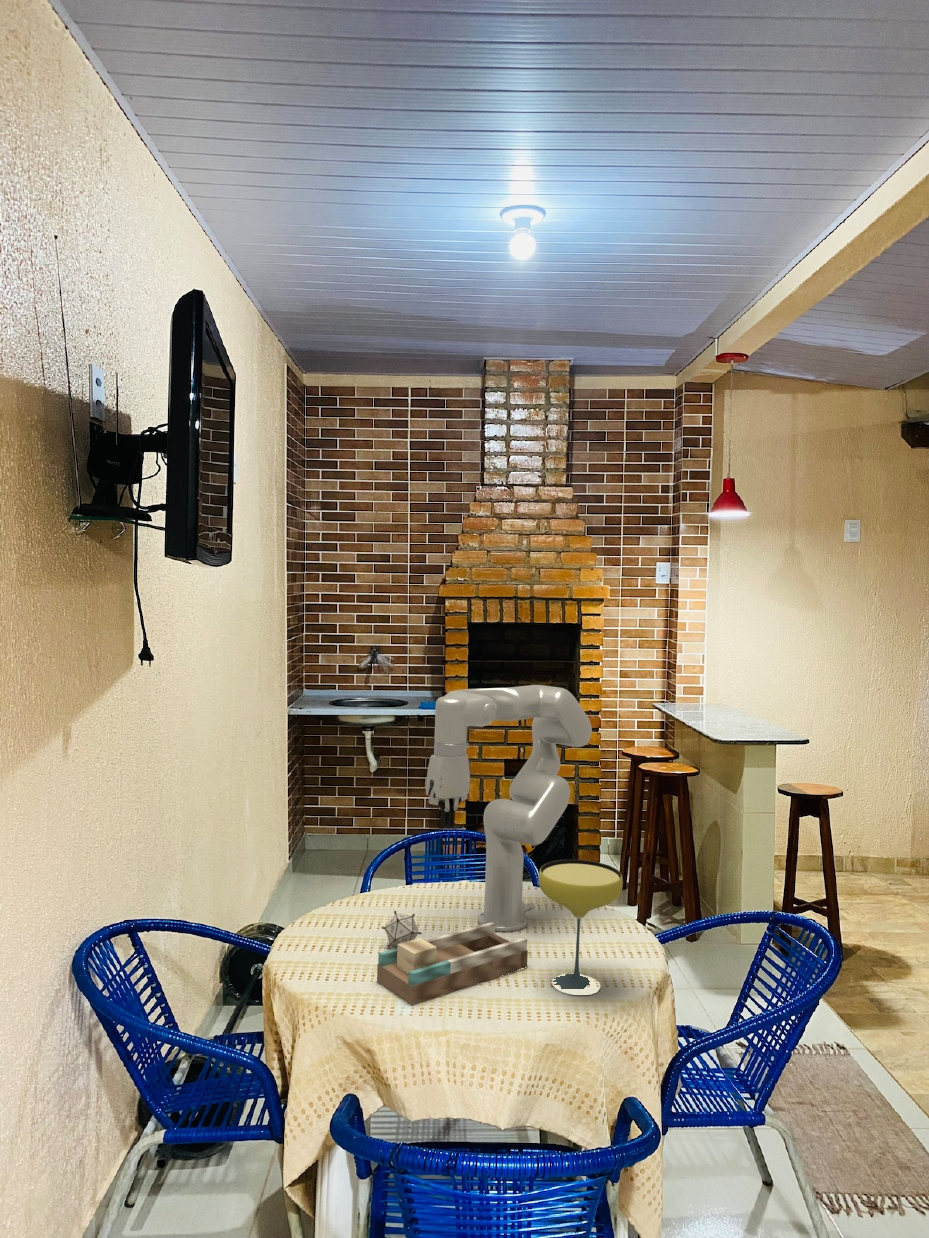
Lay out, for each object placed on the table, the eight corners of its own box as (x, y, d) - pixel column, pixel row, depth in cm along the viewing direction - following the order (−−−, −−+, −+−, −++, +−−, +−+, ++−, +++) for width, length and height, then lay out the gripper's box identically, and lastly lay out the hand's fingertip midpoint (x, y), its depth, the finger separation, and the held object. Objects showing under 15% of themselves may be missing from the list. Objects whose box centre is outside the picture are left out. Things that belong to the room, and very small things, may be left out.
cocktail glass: (532, 965, 209) (537, 857, 208) (612, 969, 209) (617, 860, 207) (536, 1002, 191) (541, 884, 190) (623, 1006, 191) (628, 888, 189)
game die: (407, 960, 218) (434, 926, 219) (394, 960, 211) (422, 925, 211) (382, 934, 222) (407, 901, 223) (368, 934, 214) (395, 899, 215)
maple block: (419, 960, 200) (420, 937, 200) (436, 969, 196) (436, 946, 195) (396, 966, 196) (397, 943, 196) (413, 977, 192) (413, 953, 192)
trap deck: (490, 948, 218) (491, 921, 217) (527, 967, 208) (528, 939, 207) (376, 982, 198) (377, 952, 197) (411, 1005, 188) (412, 974, 187)
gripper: (465, 743, 223) (462, 818, 223) (414, 749, 213) (412, 827, 214) (484, 749, 217) (482, 825, 218) (434, 755, 207) (431, 835, 208)
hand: (447, 826), depth 216 cm, fingers closed
